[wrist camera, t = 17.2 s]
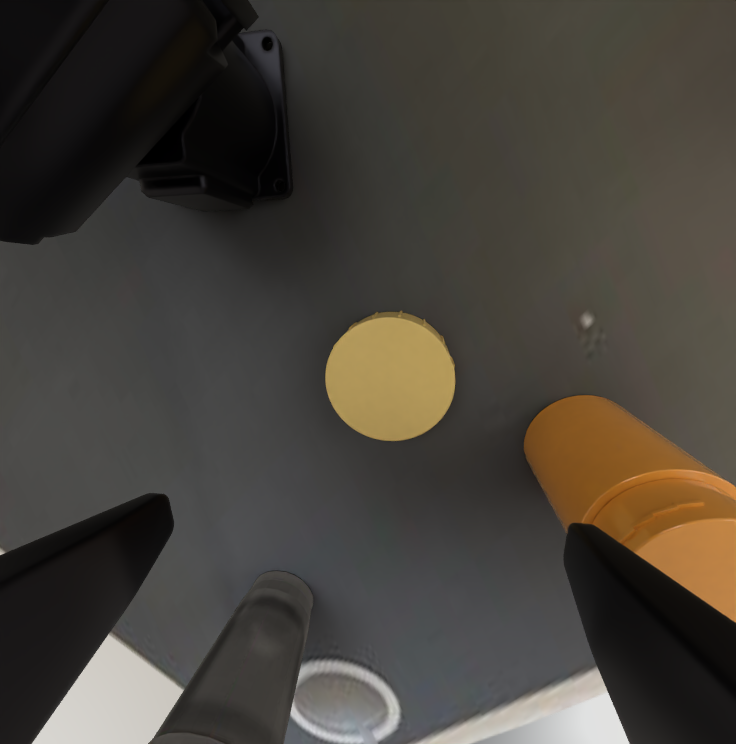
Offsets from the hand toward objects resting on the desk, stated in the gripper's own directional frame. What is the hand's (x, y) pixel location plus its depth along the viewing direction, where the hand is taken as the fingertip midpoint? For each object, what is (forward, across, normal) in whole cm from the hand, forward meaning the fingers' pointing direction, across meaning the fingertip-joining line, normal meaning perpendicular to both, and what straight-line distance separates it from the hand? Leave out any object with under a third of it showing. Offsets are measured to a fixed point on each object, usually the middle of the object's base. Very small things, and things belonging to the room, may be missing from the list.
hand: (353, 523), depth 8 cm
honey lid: (+10, 0, 0) cm, 10 cm away
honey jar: (+12, -10, +4) cm, 16 cm away
